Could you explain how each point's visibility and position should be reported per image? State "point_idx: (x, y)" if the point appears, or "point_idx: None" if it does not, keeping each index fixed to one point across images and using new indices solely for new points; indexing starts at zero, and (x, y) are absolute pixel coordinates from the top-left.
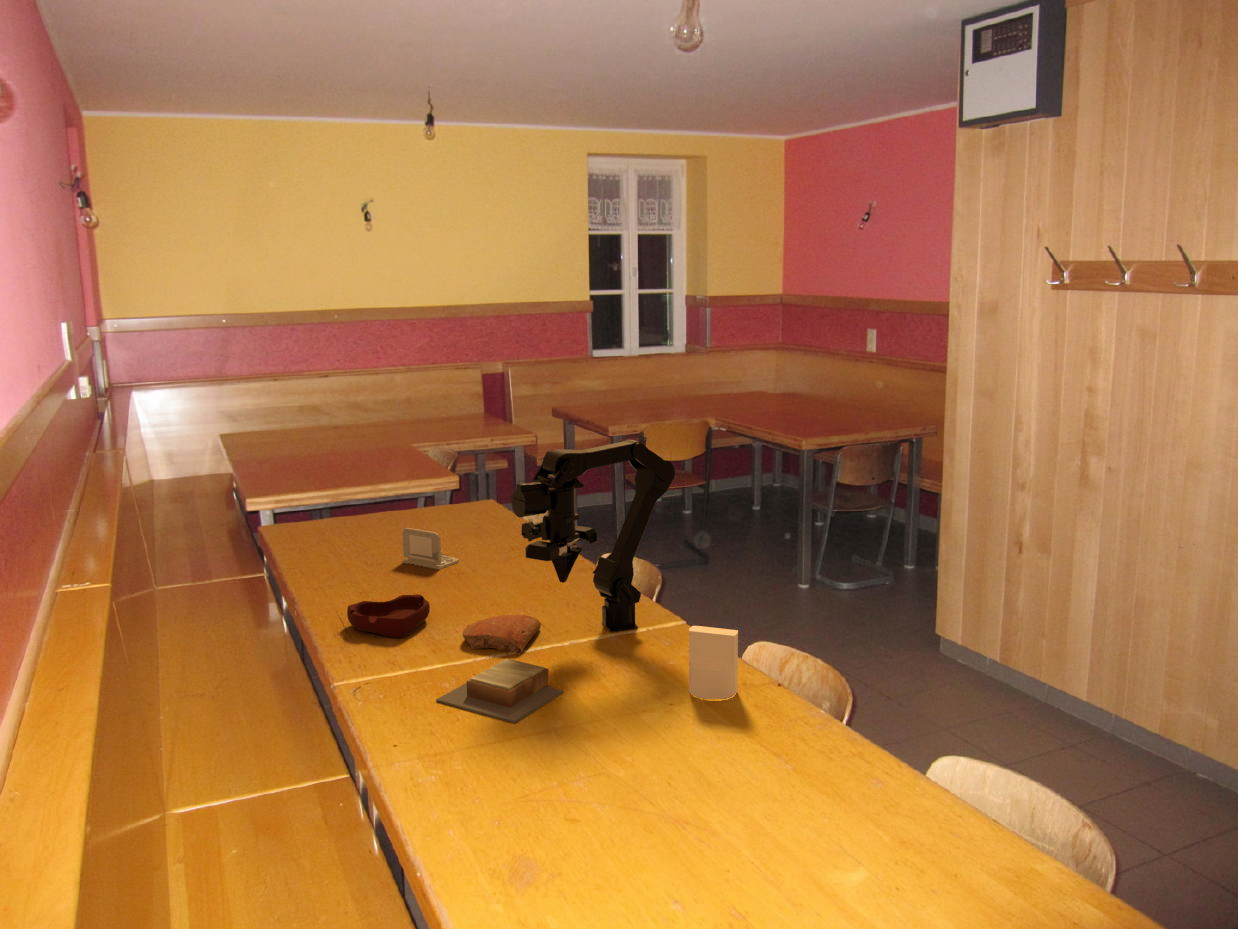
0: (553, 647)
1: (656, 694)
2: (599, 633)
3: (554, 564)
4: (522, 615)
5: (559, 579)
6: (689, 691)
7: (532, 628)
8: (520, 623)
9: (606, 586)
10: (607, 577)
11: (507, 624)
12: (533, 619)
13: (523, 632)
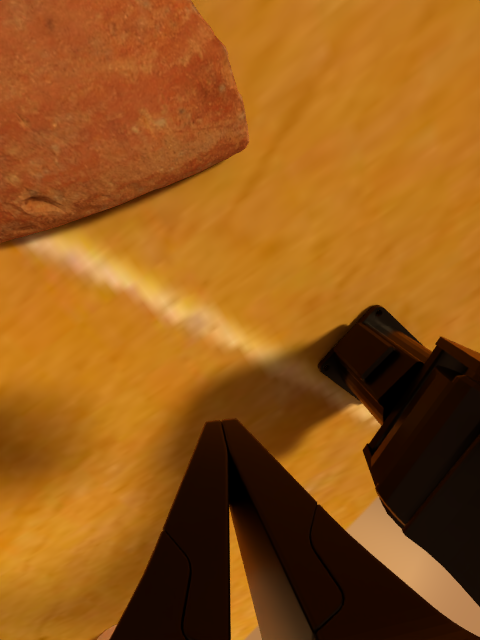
0: (126, 299)
1: (58, 608)
2: (299, 342)
3: (139, 607)
4: (191, 60)
5: (201, 439)
6: (105, 634)
7: (123, 195)
8: (73, 144)
9: (393, 476)
10: (423, 526)
11: (1, 87)
12: (204, 135)
13: (45, 199)
